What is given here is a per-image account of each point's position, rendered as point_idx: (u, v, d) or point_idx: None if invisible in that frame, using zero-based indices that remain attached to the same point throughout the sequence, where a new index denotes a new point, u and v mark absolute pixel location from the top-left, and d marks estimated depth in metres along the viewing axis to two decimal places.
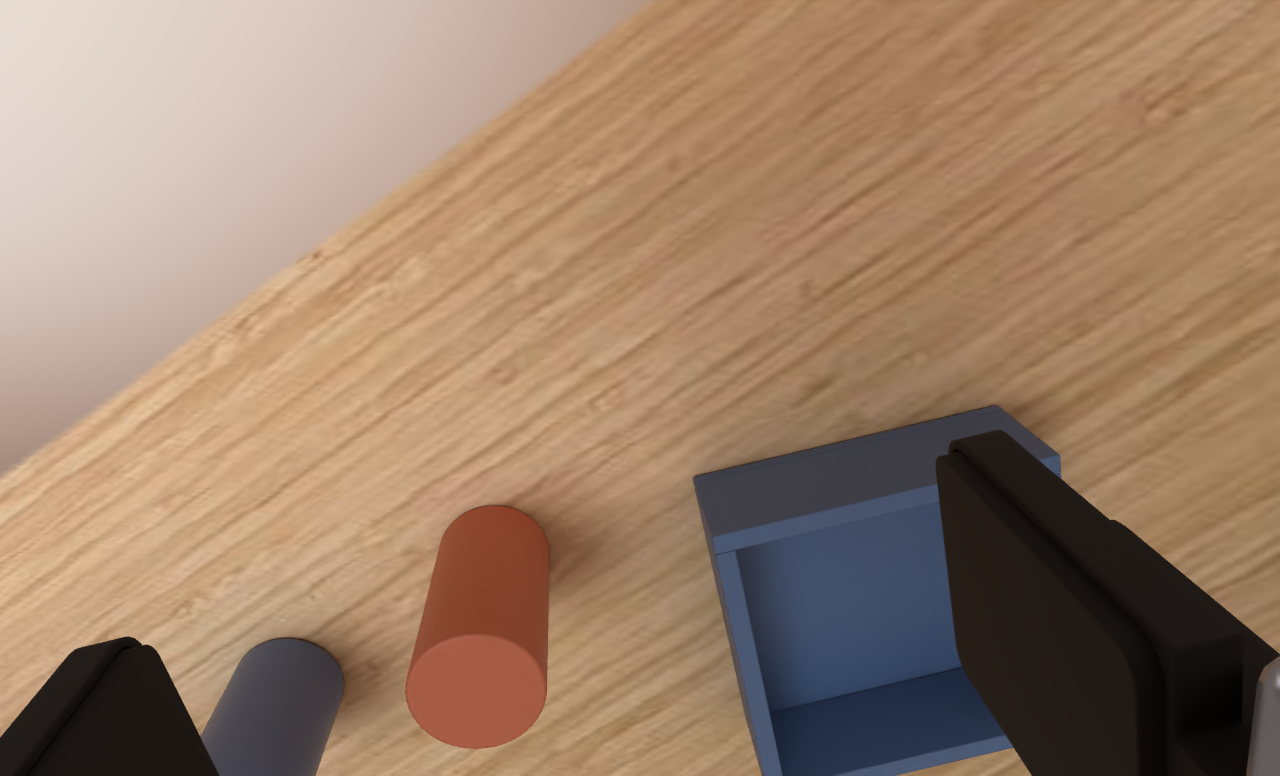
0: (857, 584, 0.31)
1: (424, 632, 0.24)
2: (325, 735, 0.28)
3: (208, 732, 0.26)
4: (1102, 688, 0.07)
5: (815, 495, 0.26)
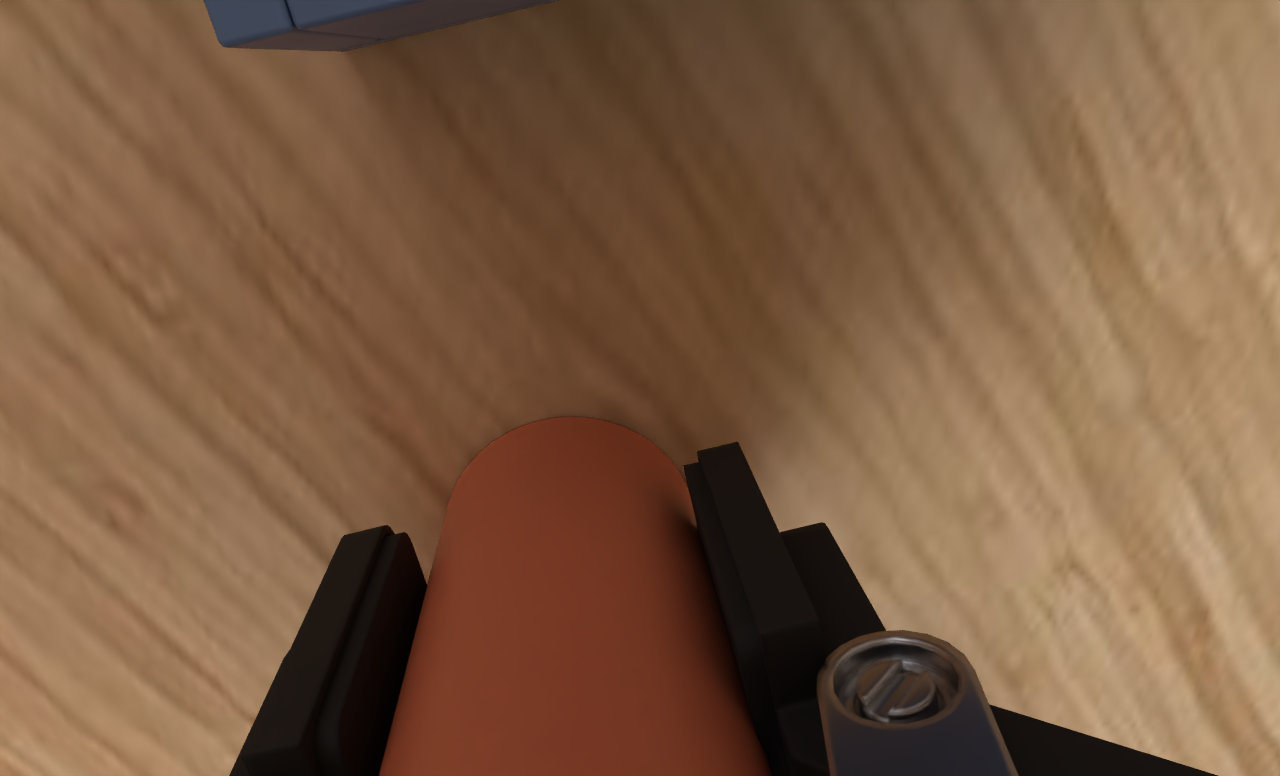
0: None
1: None
2: None
3: None
4: (739, 668, 0.08)
5: None
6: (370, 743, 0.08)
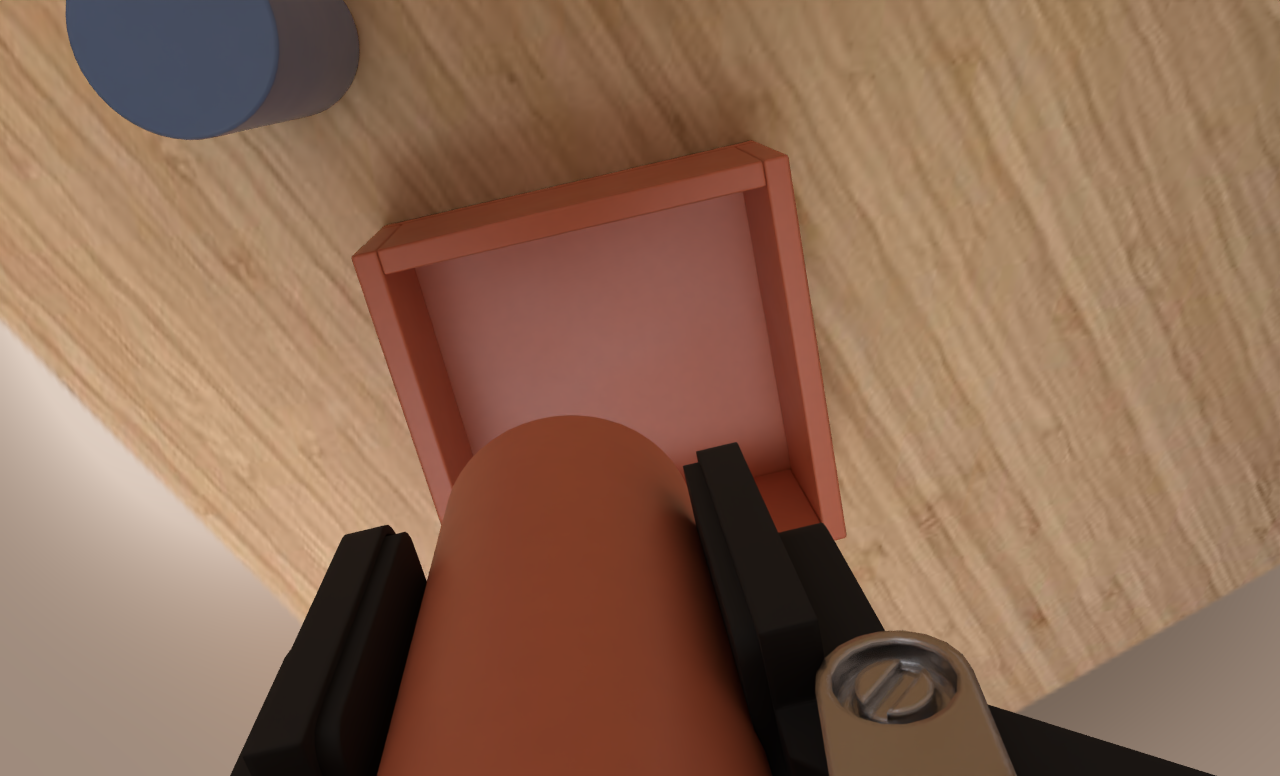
0: None
1: None
2: None
3: None
4: (738, 668, 0.08)
5: None
6: (371, 743, 0.08)
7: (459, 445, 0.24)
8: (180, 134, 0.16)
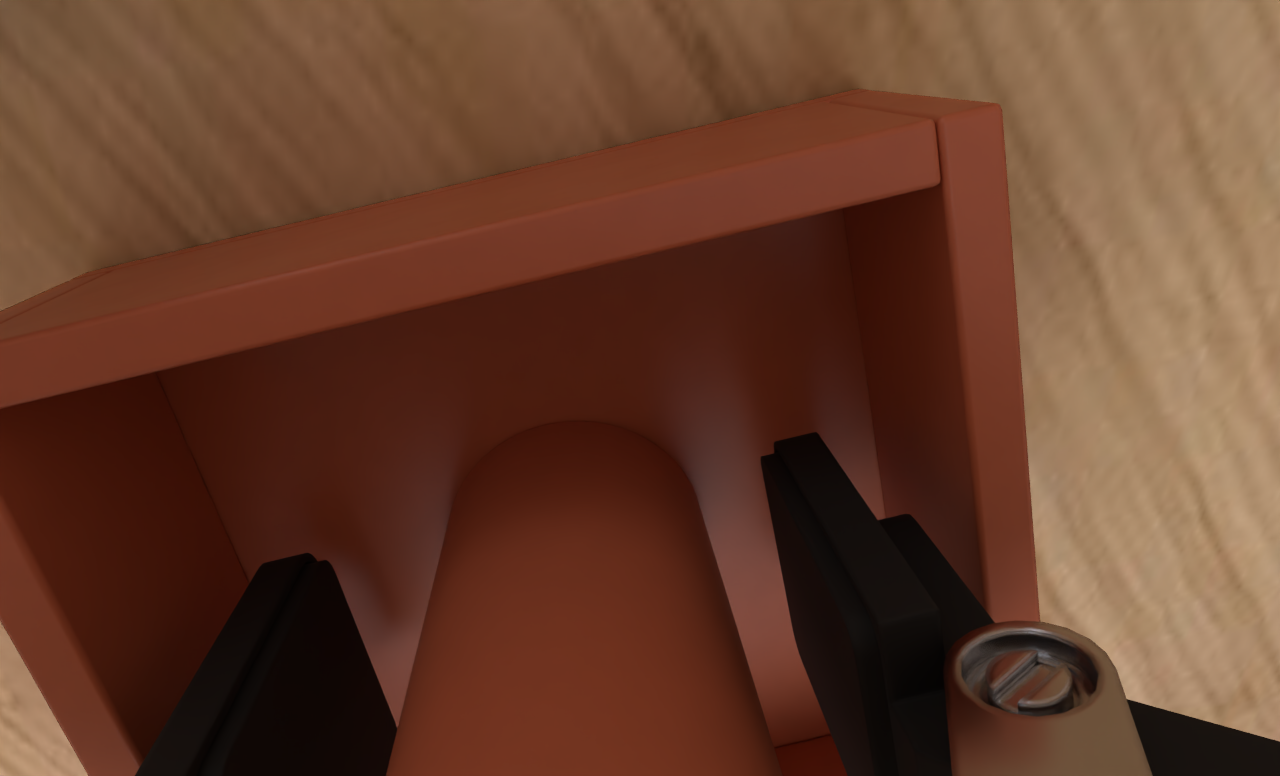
0: None
1: None
2: None
3: None
4: (845, 661, 0.08)
5: None
6: None
7: None
8: None
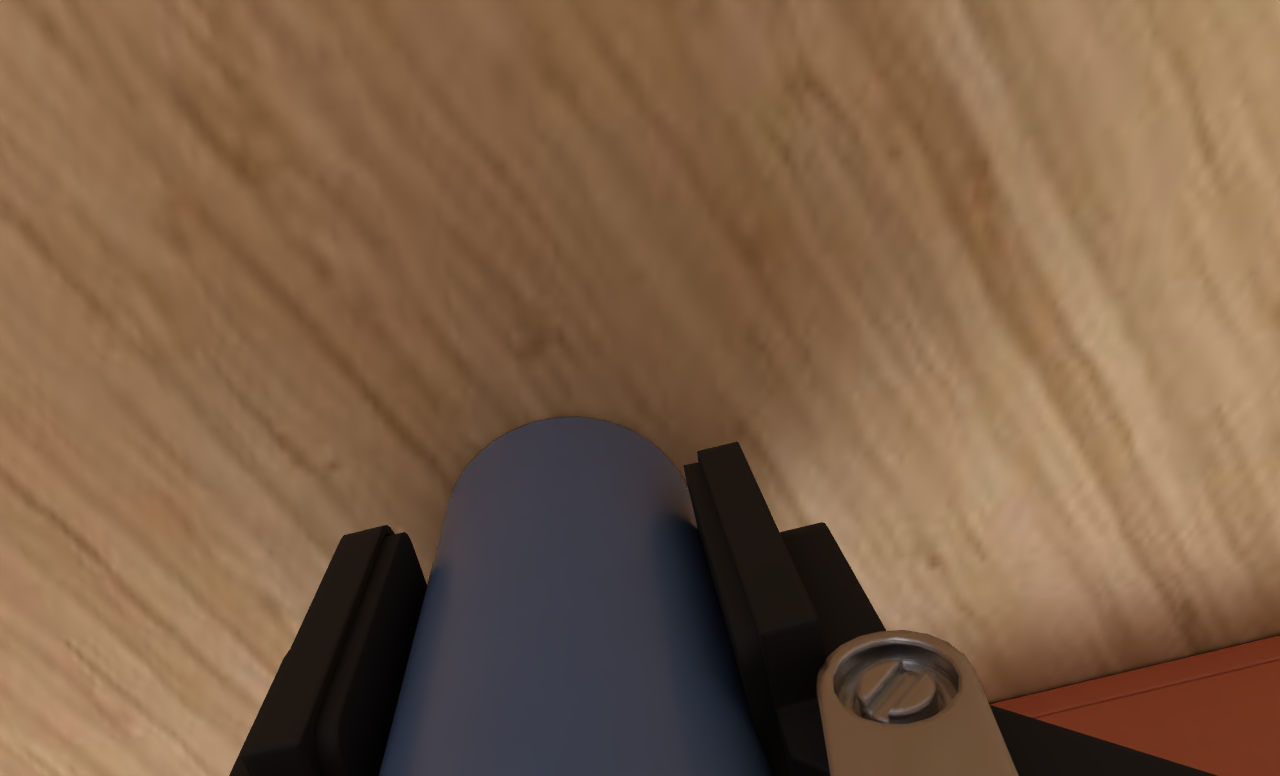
0: None
1: None
2: (573, 504, 0.10)
3: None
4: (739, 668, 0.08)
5: None
6: (370, 743, 0.08)
7: None
8: None
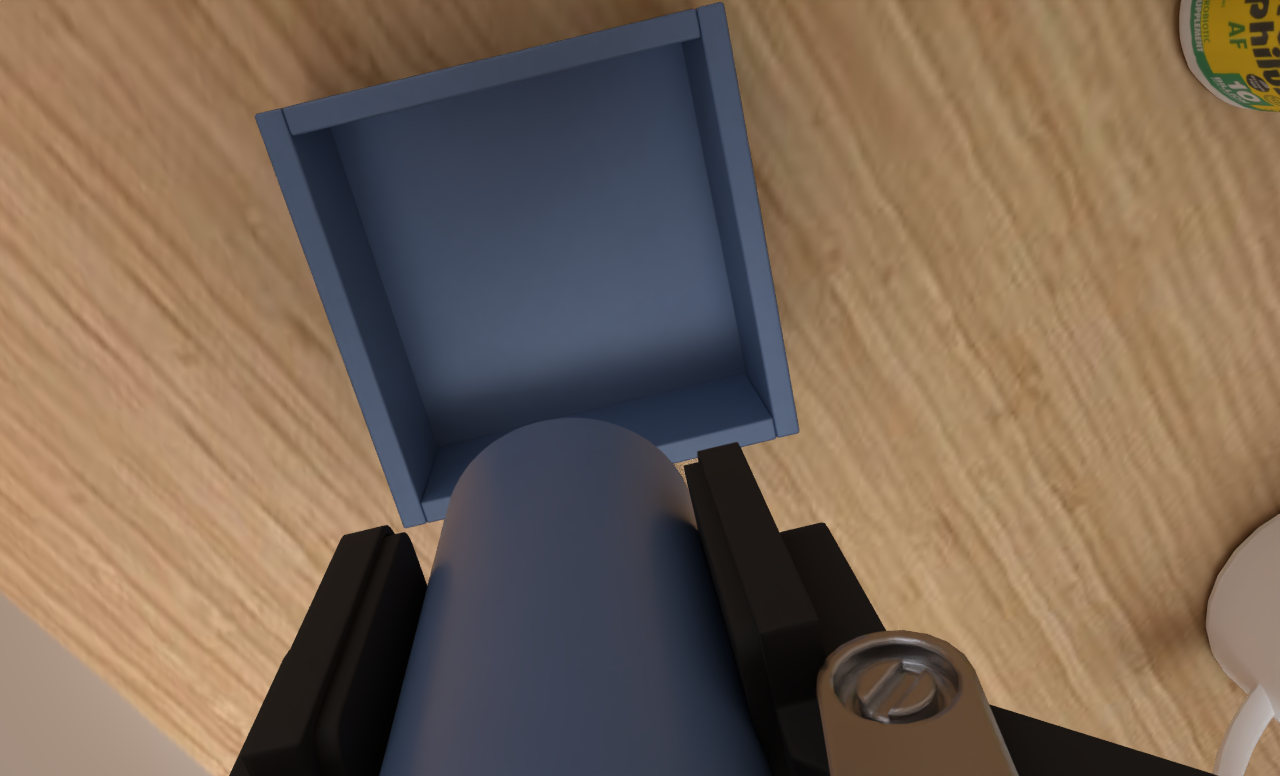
0: (559, 272, 0.24)
1: None
2: (573, 505, 0.10)
3: None
4: (739, 668, 0.08)
5: None
6: (370, 743, 0.08)
7: None
8: None
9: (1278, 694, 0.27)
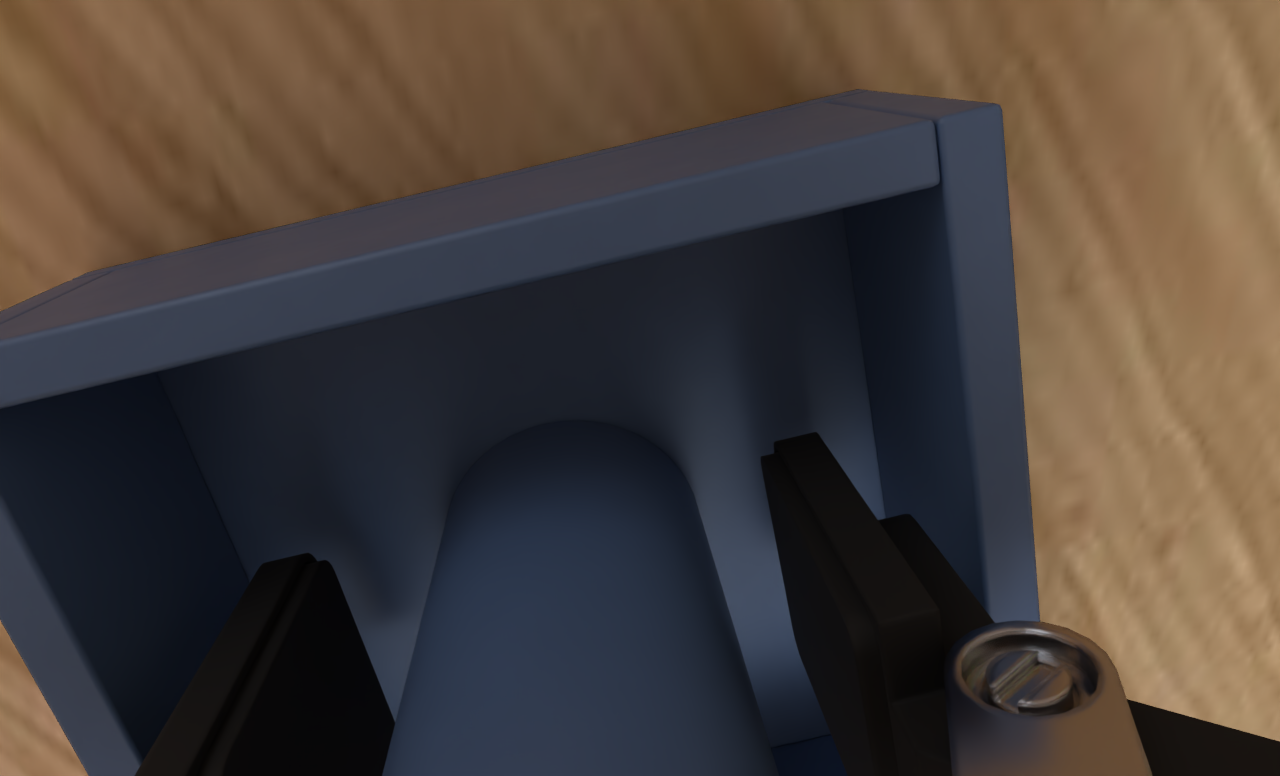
0: None
1: None
2: (578, 511, 0.10)
3: None
4: (845, 661, 0.08)
5: None
6: None
7: None
8: None
9: None
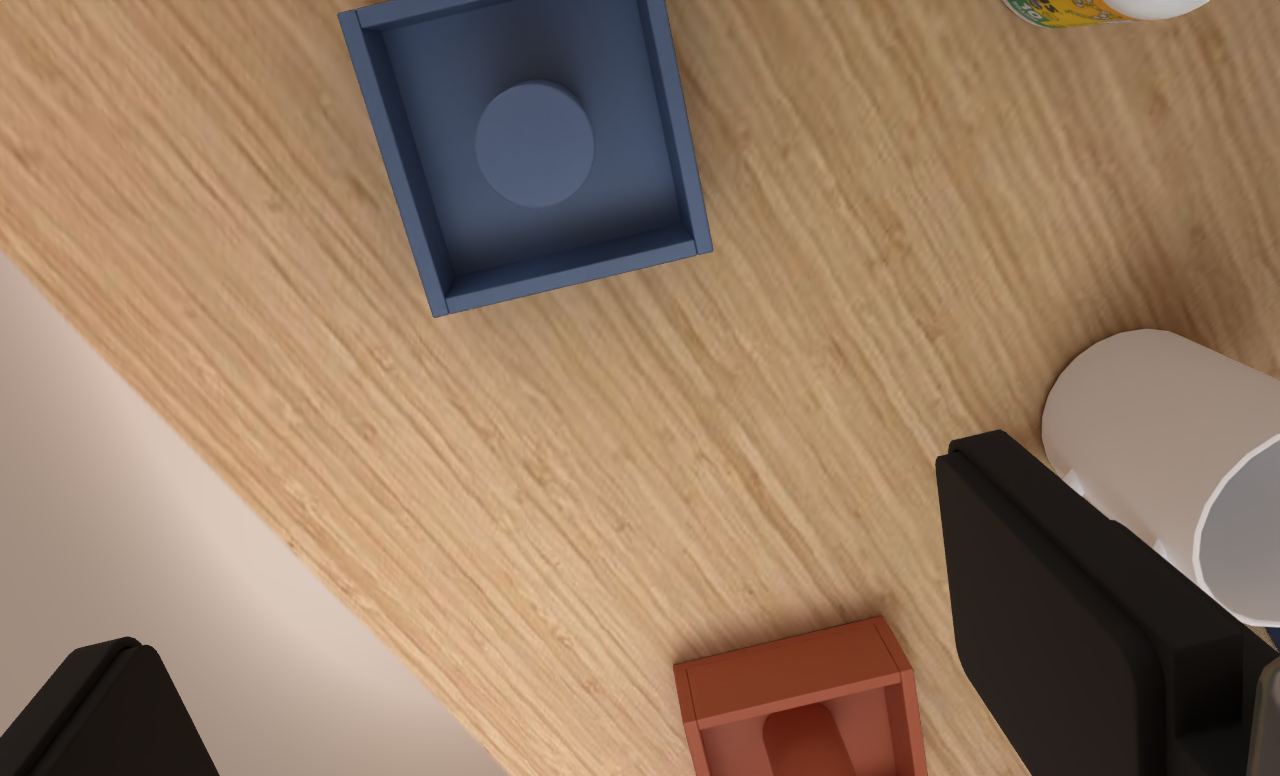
0: None
1: None
2: (538, 80, 0.30)
3: None
4: (1102, 688, 0.07)
5: None
6: None
7: None
8: (532, 205, 0.27)
9: (1081, 471, 0.37)
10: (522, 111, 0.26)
